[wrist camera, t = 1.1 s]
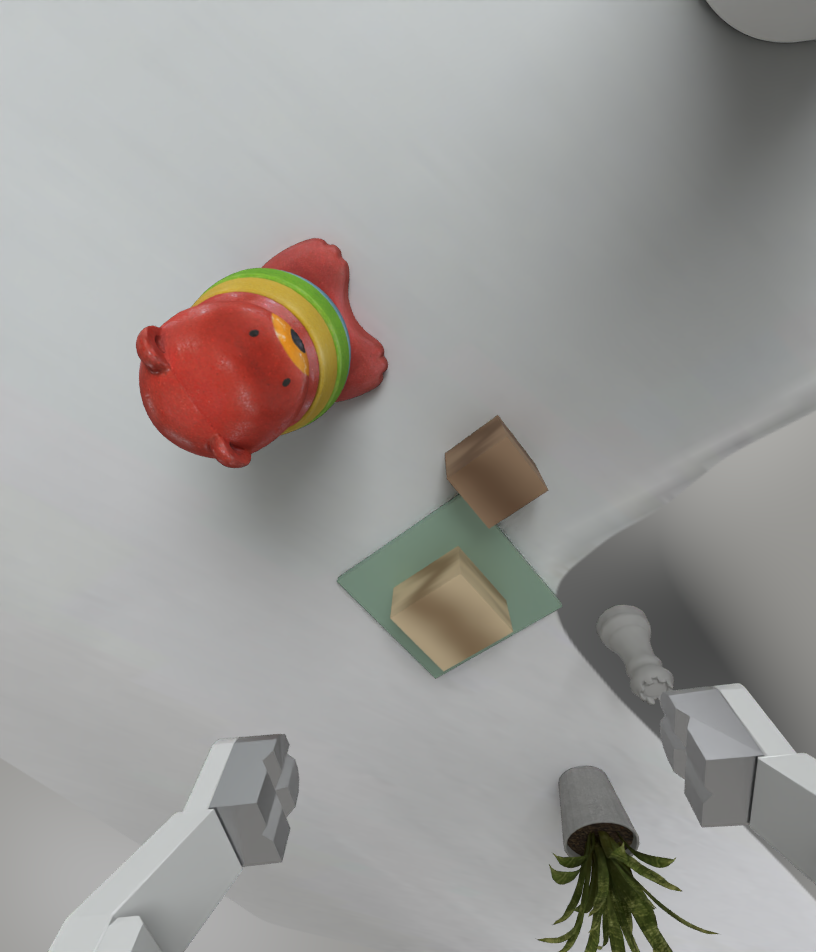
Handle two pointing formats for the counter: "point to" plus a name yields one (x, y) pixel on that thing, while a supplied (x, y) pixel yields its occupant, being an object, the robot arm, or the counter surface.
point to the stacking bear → (258, 356)
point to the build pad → (433, 541)
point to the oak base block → (450, 609)
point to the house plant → (606, 866)
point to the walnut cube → (493, 472)
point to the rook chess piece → (635, 650)
